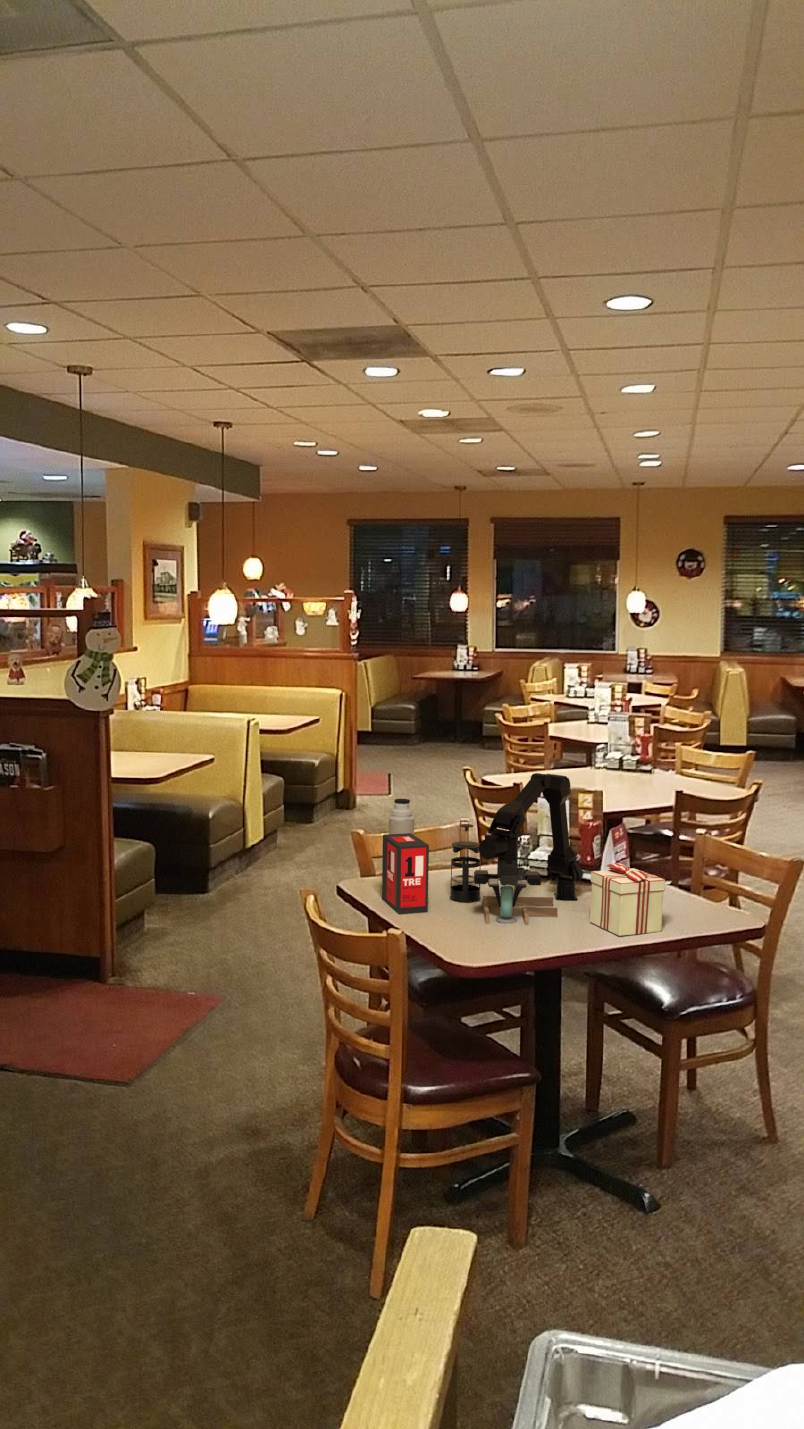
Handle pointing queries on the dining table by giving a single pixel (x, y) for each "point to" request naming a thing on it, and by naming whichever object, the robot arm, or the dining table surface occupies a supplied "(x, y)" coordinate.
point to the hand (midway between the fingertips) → (506, 907)
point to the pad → (506, 919)
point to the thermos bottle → (401, 818)
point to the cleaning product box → (405, 873)
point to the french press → (465, 872)
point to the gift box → (626, 900)
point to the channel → (526, 911)
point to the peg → (506, 901)
